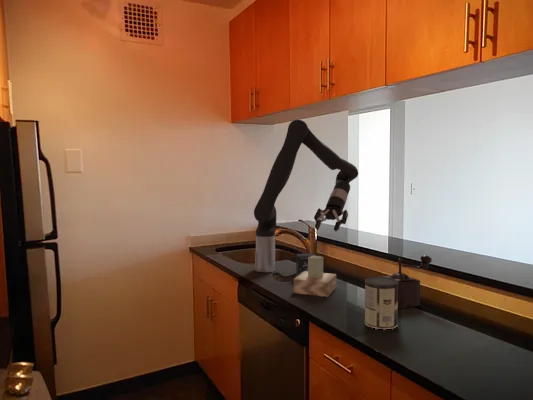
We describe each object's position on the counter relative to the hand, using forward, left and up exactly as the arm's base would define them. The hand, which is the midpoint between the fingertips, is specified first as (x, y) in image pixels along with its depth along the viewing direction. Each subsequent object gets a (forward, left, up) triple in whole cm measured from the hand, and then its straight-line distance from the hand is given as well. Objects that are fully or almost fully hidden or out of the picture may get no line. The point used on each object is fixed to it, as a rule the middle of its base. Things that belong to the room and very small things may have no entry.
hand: (325, 229), depth 178 cm
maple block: (-4, -10, -24) cm, 26 cm away
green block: (-4, -10, -18) cm, 21 cm away
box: (-9, +9, -24) cm, 27 cm away
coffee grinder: (+29, -22, -24) cm, 44 cm away
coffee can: (+17, -45, -24) cm, 54 cm away
